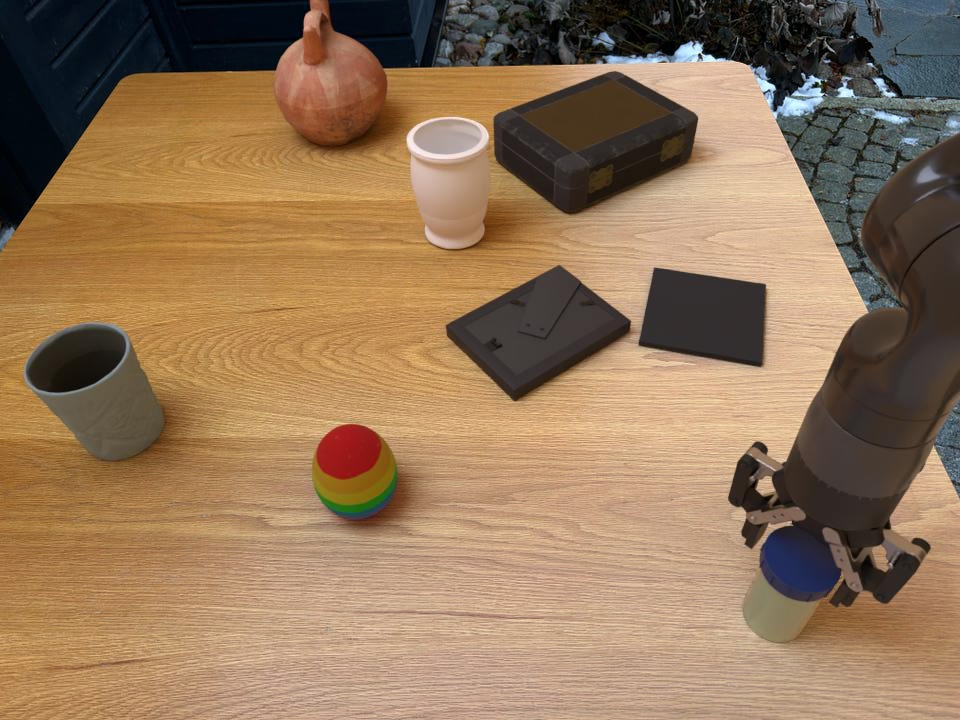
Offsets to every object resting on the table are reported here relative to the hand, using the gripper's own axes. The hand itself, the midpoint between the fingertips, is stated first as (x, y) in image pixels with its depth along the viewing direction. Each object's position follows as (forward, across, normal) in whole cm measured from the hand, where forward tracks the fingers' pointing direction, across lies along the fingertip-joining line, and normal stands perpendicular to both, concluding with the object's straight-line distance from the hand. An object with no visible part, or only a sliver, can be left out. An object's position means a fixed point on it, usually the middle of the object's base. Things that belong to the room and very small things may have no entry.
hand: (795, 568), depth 62 cm
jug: (+5, -96, +25) cm, 99 cm away
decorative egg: (+6, -36, -18) cm, 41 cm away
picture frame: (+6, -38, +11) cm, 40 cm away
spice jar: (+6, 0, -1) cm, 6 cm away
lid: (-3, 0, -1) cm, 3 cm away
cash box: (+6, -58, +46) cm, 74 cm away
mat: (+6, -25, +27) cm, 37 cm away
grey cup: (+5, -62, -31) cm, 70 cm away
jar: (+6, -60, +18) cm, 63 cm away
